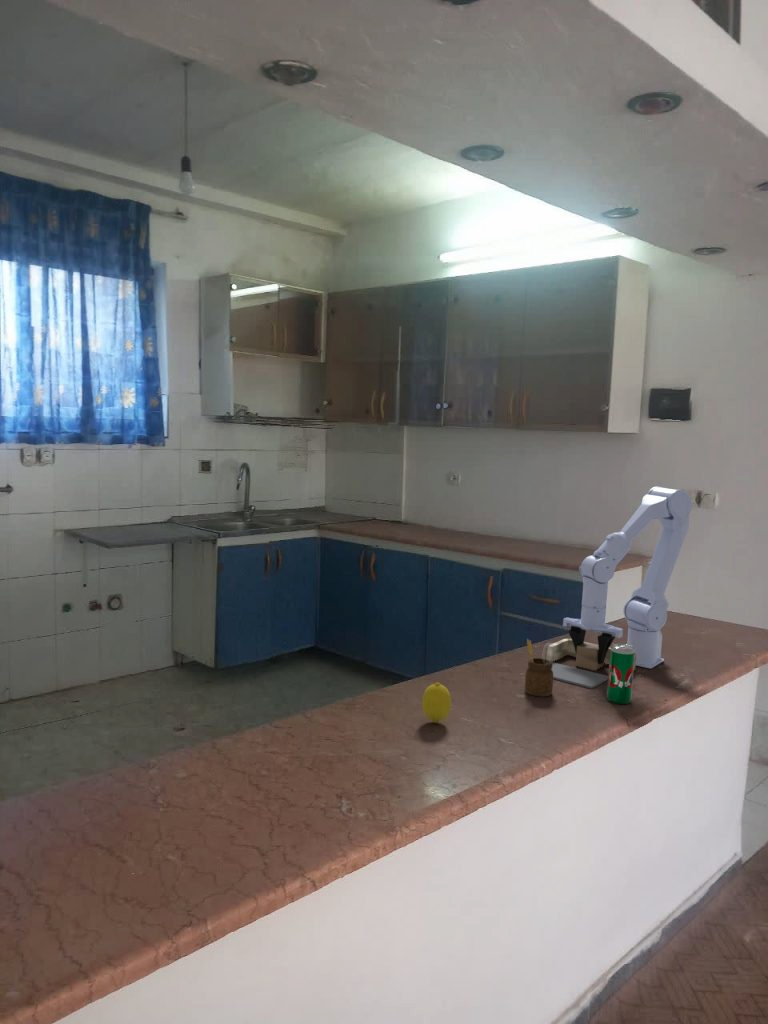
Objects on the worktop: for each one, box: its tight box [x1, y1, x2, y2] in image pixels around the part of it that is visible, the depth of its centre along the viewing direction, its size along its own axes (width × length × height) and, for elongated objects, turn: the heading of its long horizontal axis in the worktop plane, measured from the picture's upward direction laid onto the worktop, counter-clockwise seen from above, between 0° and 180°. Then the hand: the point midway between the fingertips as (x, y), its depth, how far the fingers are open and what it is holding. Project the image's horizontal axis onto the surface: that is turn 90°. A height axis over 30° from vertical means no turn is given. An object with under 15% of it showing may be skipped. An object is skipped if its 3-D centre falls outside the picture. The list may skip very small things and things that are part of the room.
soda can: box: [606, 643, 635, 705], centre depth 165 cm, size 5×5×12 cm
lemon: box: [421, 682, 452, 724], centre depth 149 cm, size 6×6×8 cm
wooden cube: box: [575, 641, 605, 671], centre depth 189 cm, size 5×5×5 cm
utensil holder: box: [524, 638, 554, 698], centre depth 169 cm, size 6×6×12 cm
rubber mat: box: [552, 662, 608, 690], centre depth 182 cm, size 10×15×1 cm, turn 51°
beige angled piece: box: [546, 637, 637, 671], centre depth 190 cm, size 10×18×4 cm, turn 51°
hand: (589, 660), depth 190 cm, fingers closed on wooden cube, 5 cm apart
